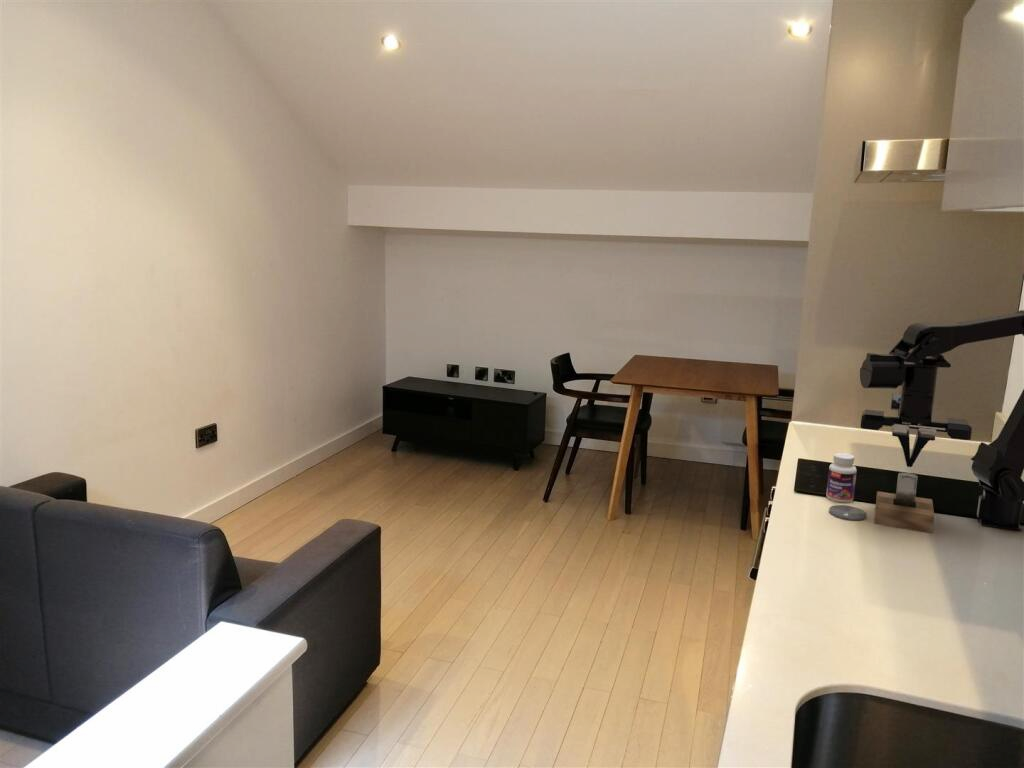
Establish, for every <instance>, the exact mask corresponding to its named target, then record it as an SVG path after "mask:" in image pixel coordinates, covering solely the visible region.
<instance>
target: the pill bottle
mask: <svg viewBox="0 0 1024 768" xmlns="http://www.w3.org/2000/svg"><path fill="white" fill-rule="evenodd" d="M854 464H855V456H854V455H852V454H849V453H844V452H837V453H834V454H833V462H832V463H831V464H830V465H829V466H828V467H829V468H828V476H827V485H826V498H828V500H829V501H833V502H837V503H852V502H853V500H854V497H855V490H856V489H855V487H856V481H857V472H858V471H857V468H856V466H855V465H854Z"/></svg>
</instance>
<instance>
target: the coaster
mask: <svg viewBox="0 0 1024 768" xmlns="http://www.w3.org/2000/svg"><path fill="white" fill-rule="evenodd" d="M828 513H829V514H830V515H831V516H833V517H835V518H837V519H840V520H845V521H854V522H856V521H857V522H858V521H864V520H865V519H867V512H866V511H865V510H863V509H862V508H859V507H855V506H853V505H844V504H834V505H832V506H830V507H829V508H828Z"/></svg>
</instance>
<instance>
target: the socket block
mask: <svg viewBox="0 0 1024 768" xmlns="http://www.w3.org/2000/svg"><path fill="white" fill-rule="evenodd" d="M895 498H896V493H892V492H891V493H890V492H884V491H879V490H878V491H876V498H875V499H876V501H875V507H874V510H875V511H874V523H873V524H875V525H880V526H887V527H893V528H899V529H906V530H909V531H910V530H911V531H917V532H923V533H929V534H933V530H934V521H935V511H934V503H933V502H934V501H933V499H932V498H925V497H917V496H915V503H914V506H913V507H906V506H899V505H897V504H895Z"/></svg>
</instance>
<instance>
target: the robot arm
mask: <svg viewBox="0 0 1024 768" xmlns="http://www.w3.org/2000/svg"><path fill="white" fill-rule="evenodd" d="M1018 335H1022V336H1023V337H1024V309H1021V310H1017V311H1015V312H1011V313H1006V314H1000V315H994V316H987V317H983V318H978V319H977V318H976V319H971V320H964V321H961V322H960V321H959V322H953V323H951V322H914V323H912V324H910V325H909V326H907V328H906V329H905V330H904V332H903V335H902V338H901V339H900V340H899V341H898V343H896V345H894V347H893V348H891V350H889V352H888V353H874V352H867V353H866V357H865V359H864V360H863V362H862V365H861V367H860V368H859V380H860V384H861V386H862V387H863V388H864V389H885V390H886V389H888V390H889V389H892V390H896V389H897V388H898V387H899V386H900V387H901V393H892V394H891V401H890V410H891V411H897V416H898V417H897V416H896V417H895V416H885V411H882V410H876V409H875V410H874V409H865V410H863V411H862V413H861V418H860V428H861V429H863V430H873V431H879V430H881V429H882V428H883V426H884V427H885V426H886V427H891V429H892V430H891V435H892V436H893V437H897V438H898V441H899V443H900V446H901V449H902V451H903V455H904V460H905V463H906V467H907V468H912V467H913V466H914V463H915V462H916V460H917V458H918V457H919V455H920V453H921V451H922V450H923V449H924V448H925V447H926V445H927V444H928V442H929V441H936V433H937V432H941V433H946V435H947V436H949V438H951V439H953V440H954V439H955V440H964V441H970V440H971V439H972V430H973V427H972V425H971V422H970V421H968V420H967V419H964V418H953V417H946V420H945V421H935V420H933V414H934V413H933V412H934V406H935V405H934V404H935V397H936V388H937V379H938V372H939V368H945V369H946V368H951V366H952V364H951V363H950V362H949V361H947V360H946V359H945V357H944V355H943V354H945V353H949V352H951V351H953V350H955V349H956V348H958V347H961V346H963V345H966V344H972V343H978V342H983V341H988V340H989V341H990V340H995V339H1001V338H1006V337H1013V336H1018ZM910 429H912V430H916V434H915V439H914V443H913V447H912V450H911V447H910V444H911V443H910ZM970 460H971V461H973V462H972V463H971V470H972V473H973V475H974V477H976V479H977V480H978V484H979V486H980V487H981V488H983V492H982V495H979V496H978V503H977V504H978V505H977V510H976V517H977V519H979V521H980V524H981V525H982V526H985V527H986V526H988V527H992V528H993V527H994V528H1000V529H1005V530H1012V531H1018V532H1019V531H1021V529H1022V527H1021V525H1020V522H1021V516H1022V509H1023V502H1024V480H1023V479H1022V476H1023V473H1024V389H1023V390H1022V391H1021V393H1020V395H1019V397H1018V398H1017V401H1016V403H1015V404H1014V406H1013V408H1012V411H1011V412H1010V414H1009V416H1008V417H1007V420H1006V421H1005V423H1004V426H1003V427H1002V428H1001V430H1000V432H999V434H998V436H997V438H995V439H994V440H993V441H992V442H990V443H987V444H986V442H983V441H982V442H980V444H979V445H978V447H977V450H976V453H975V454H974V456H972V457H971V459H970Z"/></svg>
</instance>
